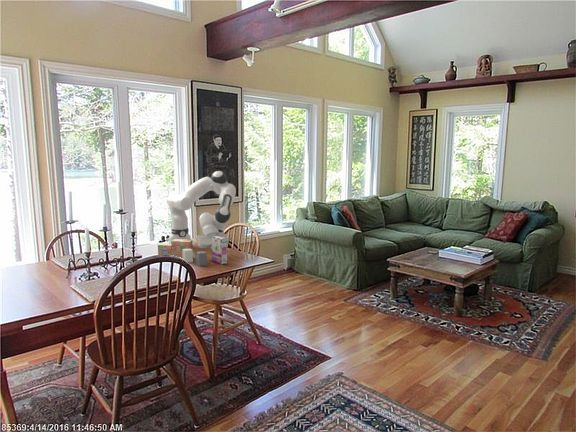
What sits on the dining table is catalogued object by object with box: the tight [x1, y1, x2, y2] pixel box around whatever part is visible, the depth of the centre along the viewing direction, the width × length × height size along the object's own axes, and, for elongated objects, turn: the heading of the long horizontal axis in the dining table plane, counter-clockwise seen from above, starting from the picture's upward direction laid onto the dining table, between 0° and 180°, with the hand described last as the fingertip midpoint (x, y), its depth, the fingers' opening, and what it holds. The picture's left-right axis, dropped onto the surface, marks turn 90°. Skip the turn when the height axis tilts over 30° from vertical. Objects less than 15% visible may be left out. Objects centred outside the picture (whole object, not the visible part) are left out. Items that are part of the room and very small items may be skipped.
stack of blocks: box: [157, 239, 194, 258], centre depth 267 cm, size 21×6×12 cm, turn 85°
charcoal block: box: [195, 250, 208, 267], centre depth 252 cm, size 5×5×8 cm
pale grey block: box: [182, 248, 194, 264], centre depth 259 cm, size 5×5×8 cm
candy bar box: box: [211, 236, 228, 266], centre depth 257 cm, size 11×5×16 cm, turn 41°
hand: (216, 251), depth 263 cm, fingers closed
